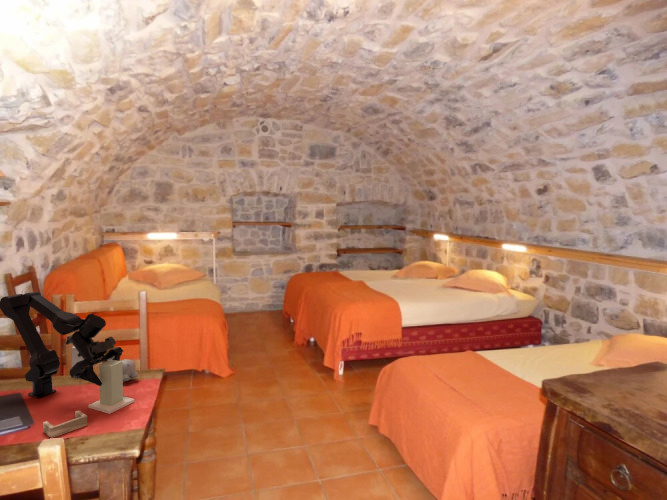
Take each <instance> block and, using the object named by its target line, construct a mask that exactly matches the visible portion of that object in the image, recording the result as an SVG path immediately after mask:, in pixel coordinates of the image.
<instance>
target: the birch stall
mask: <svg viewBox="0 0 667 500" xmlns="http://www.w3.org/2000/svg"><path fill="white" fill-rule="evenodd" d="M74 413H75V414H74V417H75V418H73V419H70V420H68V421H65V422H61V423H60V424H57V425H53V424H51V423H50V422H49V421H48V420H46V421H42V432H43V433H44V434H45V435H46V436H48V437H50V439H53V438H56V437H58V436H61V435H64V434H67V433H70V432H72V431H75V430H78V429H81V428H84V427H85V426H88V415H87V414H85V413H83V412H82V411H81V410H76V411H74Z"/></svg>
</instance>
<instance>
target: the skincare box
mask: <svg viewBox="0 0 667 500" xmlns="http://www.w3.org/2000/svg"><path fill="white" fill-rule="evenodd" d="M78 354H79V352H78V351H77V349H76V348H75V347H74V346H72V347H71V368H72V367H73V366H74V365H75V364H76V363H77V362H79V361H82V360H84V359H83V357H82V356H81V357H78Z"/></svg>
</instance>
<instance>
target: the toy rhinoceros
mask: <svg viewBox="0 0 667 500" xmlns="http://www.w3.org/2000/svg"><path fill="white" fill-rule="evenodd" d="M121 361H122V369H123V383H124V382H128V381H131V380H133V379H136V378H138V376H139V374H138V372H137V371H136V369H137V368H136V367H137V366H136V364H135V362H134V361H133V360H132V359H127V358H125V359H122V360H121Z"/></svg>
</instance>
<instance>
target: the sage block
mask: <svg viewBox="0 0 667 500" xmlns="http://www.w3.org/2000/svg"><path fill="white" fill-rule="evenodd" d="M98 371H99V372H98V373H99V379H100V381H101V382H102V385H101V386H99V400H100V404H104V405H110V406H113V405H115V404H116V403H118V402H120V401H122V400H123V396H124V390H123V389H124V387H123V386H124V384H123V383H124V382H123V369H122V360H120V361H115V360H109V361H107V362H104V363H102V362H101V363H99V367H98Z"/></svg>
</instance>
